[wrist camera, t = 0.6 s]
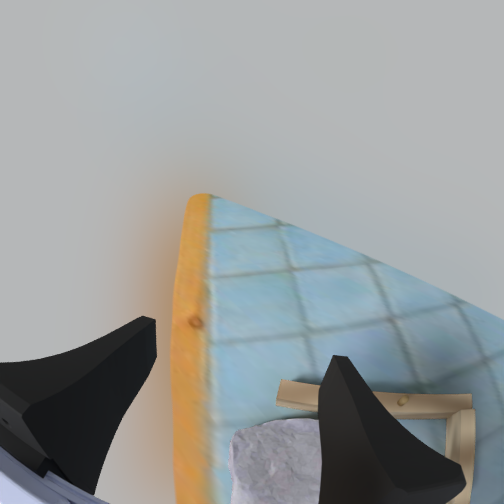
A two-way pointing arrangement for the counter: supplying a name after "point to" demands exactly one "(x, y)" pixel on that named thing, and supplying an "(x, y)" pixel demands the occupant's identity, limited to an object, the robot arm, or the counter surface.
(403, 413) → the fence
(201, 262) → the counter surface
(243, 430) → the stone block
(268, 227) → the counter surface
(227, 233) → the counter surface
